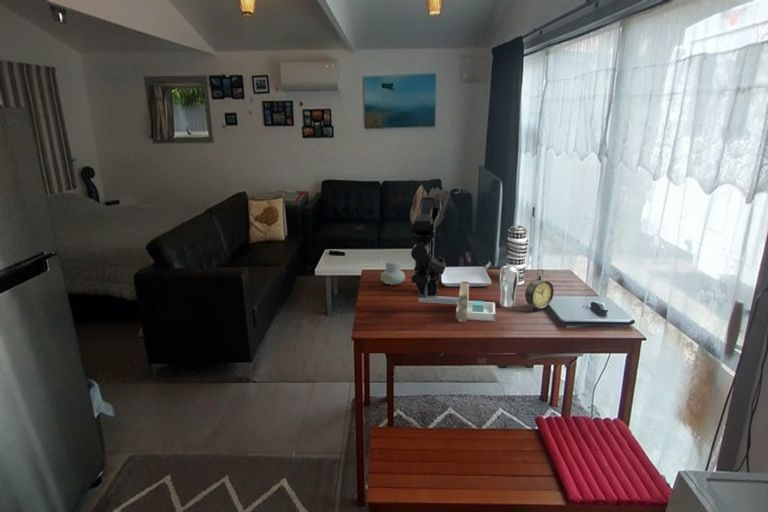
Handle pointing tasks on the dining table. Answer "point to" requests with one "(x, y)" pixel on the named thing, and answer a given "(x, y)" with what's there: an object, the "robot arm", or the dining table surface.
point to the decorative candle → (517, 250)
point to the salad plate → (465, 276)
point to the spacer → (478, 306)
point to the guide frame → (463, 301)
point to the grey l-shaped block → (436, 298)
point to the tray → (486, 315)
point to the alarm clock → (539, 293)
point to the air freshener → (392, 273)
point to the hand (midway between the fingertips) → (422, 292)
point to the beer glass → (508, 285)
